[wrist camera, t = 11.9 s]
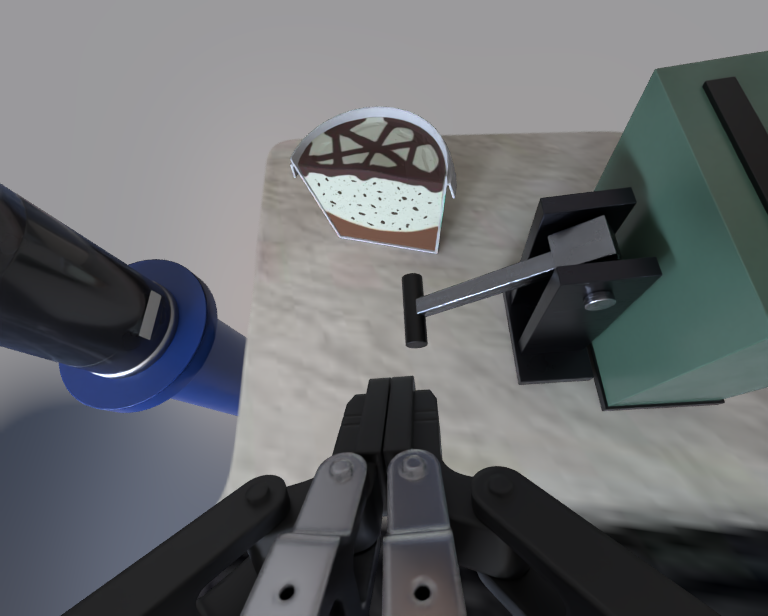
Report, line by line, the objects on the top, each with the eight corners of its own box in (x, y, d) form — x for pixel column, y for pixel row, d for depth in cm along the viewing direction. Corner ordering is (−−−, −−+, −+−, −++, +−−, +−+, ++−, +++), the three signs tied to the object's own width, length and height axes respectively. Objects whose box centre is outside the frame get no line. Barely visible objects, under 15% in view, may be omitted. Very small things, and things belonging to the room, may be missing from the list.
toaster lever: (418, 351, 27) (396, 343, 25) (413, 286, 29) (393, 275, 27) (634, 295, 20) (624, 279, 18) (608, 212, 22) (597, 191, 20)
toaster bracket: (518, 385, 29) (563, 326, 17) (500, 277, 33) (526, 168, 21) (589, 380, 28) (685, 315, 17) (563, 270, 32) (627, 154, 20)
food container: (468, 199, 36) (474, 106, 27) (454, 256, 34) (455, 177, 25) (344, 183, 39) (312, 95, 30) (324, 235, 37) (283, 157, 28)
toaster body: (601, 411, 27) (776, 339, 13) (561, 247, 33) (651, 61, 18) (717, 404, 26) (1053, 318, 12) (656, 236, 32) (835, 31, 17)
